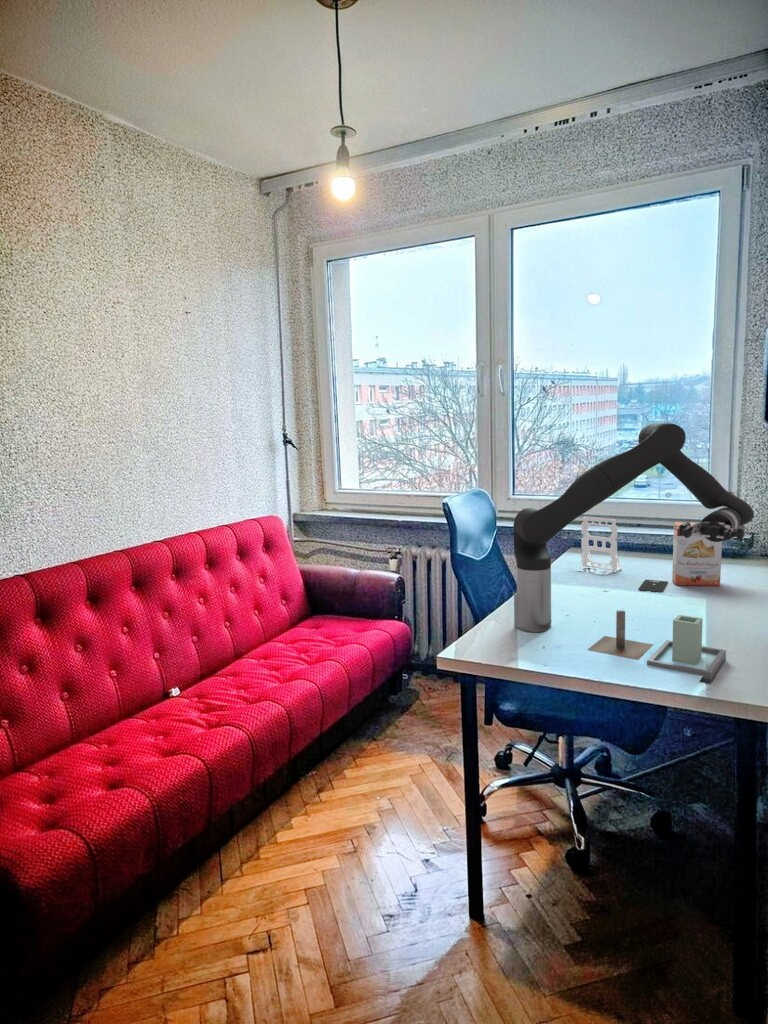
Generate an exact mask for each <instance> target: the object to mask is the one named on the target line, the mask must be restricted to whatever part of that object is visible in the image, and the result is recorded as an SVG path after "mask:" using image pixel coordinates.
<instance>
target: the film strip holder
mask: <svg viewBox="0 0 768 1024" xmlns="http://www.w3.org/2000/svg"><path fill="white" fill-rule="evenodd" d="M582 518H583V519H582V522H581V524H580V525H581V526H580V527H581V531H580V532H581V535H582V537H581V539H580V541H581V542H580V543H581V546H580V547H581V548H580V549H581V550H582V552H581V557H580V558H581V559H580V560H581V561H580V564H581V567H582V566H583V567H584V566H585V567H592V568H591V569H594V568H599V569H600V570H602V569H603V570H611V571H612V572H614V571H616V572H614V573H618V572H617V571H619V570H623V567H622V566H621V564H620V558H619V555H618V541H616V540H617V538H618V525H616V524H617V522H616V521H617V519H616V518H606V517H605V518H604V517H595V516H583V517H582ZM588 520H589V521H592V522H588ZM595 521H597V523H594V522H595ZM602 522H605V524H604V523H602ZM608 522H610V523H611V524H608ZM590 525H591V526H603V527H609V529H610V530H611V534H610V536H609V537H606V536H598V535H591V534H590V532H589V531H588V529H589V527H590ZM590 540H591V541H593V545H590V544H589V541H590ZM598 541H599V542H601V547H600V546H598ZM606 542H608V543H610V546H609V547H607V545H606ZM591 551H593V552H601V553H608V554H610V555H609V556H610V558H611V560H610V561H609V563H608V562H607V563H606V562H599V561H593V559H592V555H591ZM593 564H595V565H596V564H597V566H595V565H593ZM590 565H592V566H590ZM601 565H603V566H605V567H601ZM608 566H611V568H610V567H608ZM581 567H578V568H574V570H576V569H579V568H581ZM621 568H622V569H621ZM585 570H586V572H587V571H588V569H585ZM586 572H585V573H586ZM595 572H596V571H593V573H595ZM612 572H609V573H611V574H613V573H612ZM619 572H620V571H619ZM606 573H607V574H609V573H608V572H606ZM605 575H606V574H605ZM605 575H604V576H605ZM609 575H610V574H609ZM606 576H607V575H606Z"/></svg>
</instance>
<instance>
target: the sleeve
mask: <svg viewBox="0 0 768 1024" xmlns="http://www.w3.org/2000/svg"><path fill="white" fill-rule="evenodd" d="M672 641H673V645H672V646H671V647H672V649H671V651H672V652H671V653H672V654H671V656H672V658H671V660H672V662H677V663H683V664H688V665H693V666H697V665H698V664H699V662H700V660H702V653H703V652H702V645H703V643H702V642H703V617H696V616H690V615H683V614H677V616H676V617H675V618H674V619H673V620H672Z"/></svg>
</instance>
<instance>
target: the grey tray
mask: <svg viewBox="0 0 768 1024" xmlns="http://www.w3.org/2000/svg"><path fill="white" fill-rule="evenodd" d="M672 645H673V640H669V639H666V640H665V641H664V642H663V643H662V644H661V646H660V647H658V648H657V649H656V650H655V651H654V653H653V654H652V655H651V656H650V657H649V658H648V659H647V660H646V665H647V666H651V667H656V668H660V669H665V670H669V671H676V672H681V673H686V674H690V675H696V676H700V677H701V678H700V680H699V683H703V684H708V685H711V684H712V683H713V681H714V680H715V678H716V676H717V675H718V673H719V672H720V670H721V668H722V667H723V666H724V664H725V662H726V659H727V649H721V648H714V647H711V646H702V653H708V654H713V655H716V656H715V657H714V659H713V661H712V662H711V663H710V665H709V667H708V668H707V669H702V668H696V667H691V666H686V665H680V664H676V663H670V662H665V661H659V659H660V658H661V657H662V655H663V654H664V653H665V652H666V651H667V650H668V649H669V648H670V647H672Z"/></svg>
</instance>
